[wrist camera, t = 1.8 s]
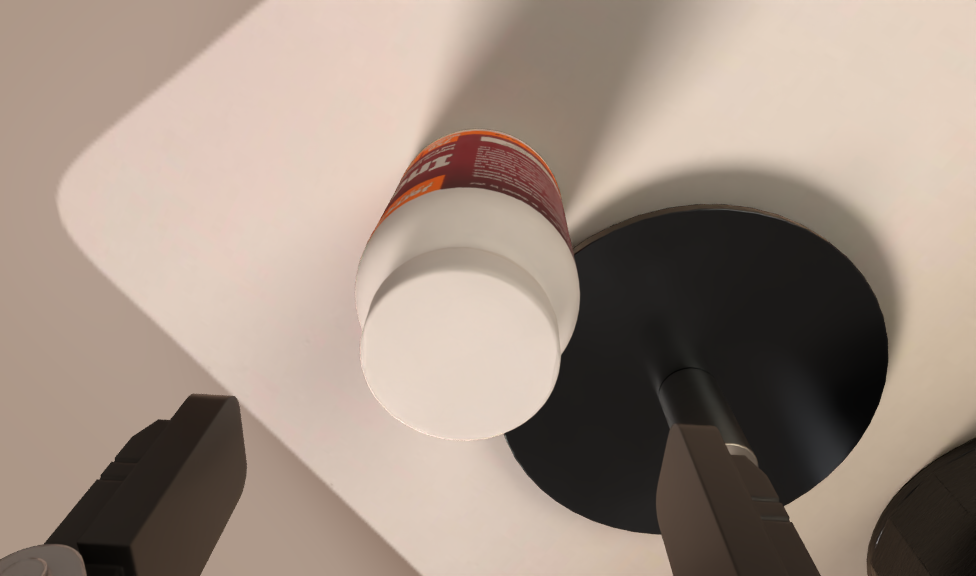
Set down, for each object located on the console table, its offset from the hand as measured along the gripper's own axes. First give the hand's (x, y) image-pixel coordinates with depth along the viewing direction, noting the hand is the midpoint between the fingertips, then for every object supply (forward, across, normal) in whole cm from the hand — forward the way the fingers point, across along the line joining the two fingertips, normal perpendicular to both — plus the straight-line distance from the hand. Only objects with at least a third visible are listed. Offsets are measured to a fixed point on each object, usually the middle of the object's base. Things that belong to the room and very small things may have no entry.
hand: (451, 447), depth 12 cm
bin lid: (+14, -9, +7) cm, 18 cm away
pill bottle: (+14, 0, 0) cm, 14 cm away
